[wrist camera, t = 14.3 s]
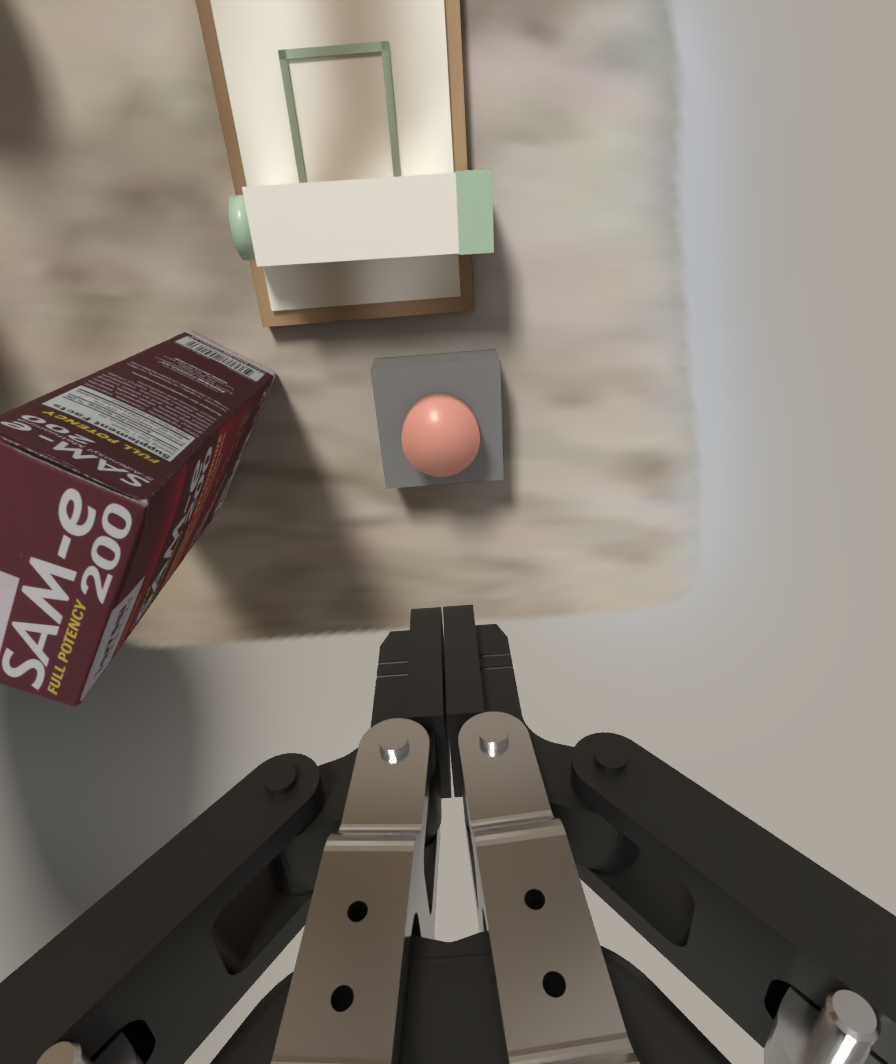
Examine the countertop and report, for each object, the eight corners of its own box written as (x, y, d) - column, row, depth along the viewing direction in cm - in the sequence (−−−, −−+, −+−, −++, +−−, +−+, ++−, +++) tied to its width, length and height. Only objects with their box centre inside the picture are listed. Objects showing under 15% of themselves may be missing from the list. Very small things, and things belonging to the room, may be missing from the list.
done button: (406, 467, 29) (405, 479, 28) (399, 395, 28) (397, 404, 26) (479, 462, 29) (481, 473, 28) (476, 389, 28) (478, 398, 26)
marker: (237, 269, 24) (494, 252, 24) (220, 186, 23) (492, 168, 23) (256, 264, 27) (488, 249, 27) (241, 189, 25) (486, 173, 25)
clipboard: (267, 324, 29) (259, 329, 28) (188, -66, 22) (173, -83, 21) (473, 308, 29) (475, 312, 27) (454, -89, 22) (455, -107, 21)
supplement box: (227, 507, 33) (77, 717, 19) (140, 469, 32) (-86, 663, 18) (284, 370, 30) (152, 504, 16) (189, 322, 29) (-43, 421, 15)
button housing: (389, 470, 32) (386, 488, 30) (375, 358, 30) (370, 369, 27) (498, 461, 32) (503, 479, 30) (495, 349, 30) (500, 360, 27)
